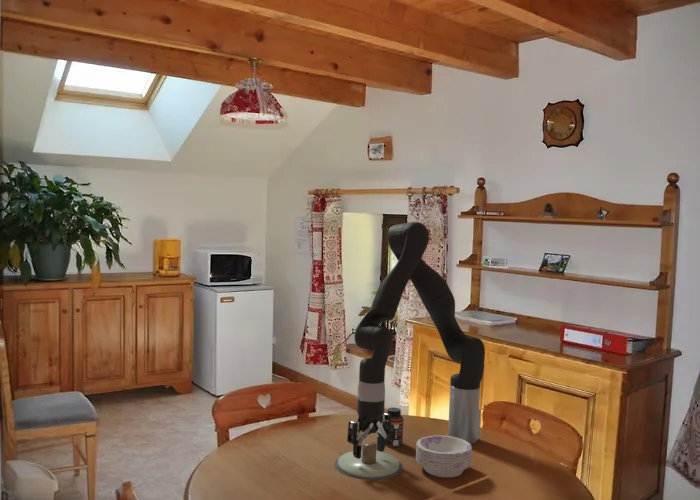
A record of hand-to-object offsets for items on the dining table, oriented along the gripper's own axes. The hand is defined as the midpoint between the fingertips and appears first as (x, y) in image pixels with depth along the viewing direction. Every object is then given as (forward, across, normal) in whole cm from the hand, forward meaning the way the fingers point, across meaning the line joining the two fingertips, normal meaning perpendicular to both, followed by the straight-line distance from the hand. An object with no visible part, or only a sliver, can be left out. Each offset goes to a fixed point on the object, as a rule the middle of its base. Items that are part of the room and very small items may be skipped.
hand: (369, 454), depth 172 cm
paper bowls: (+4, -15, +14) cm, 21 cm away
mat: (+4, 0, 0) cm, 4 cm away
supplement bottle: (+4, -17, -8) cm, 19 cm away
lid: (+3, 0, 0) cm, 3 cm away
